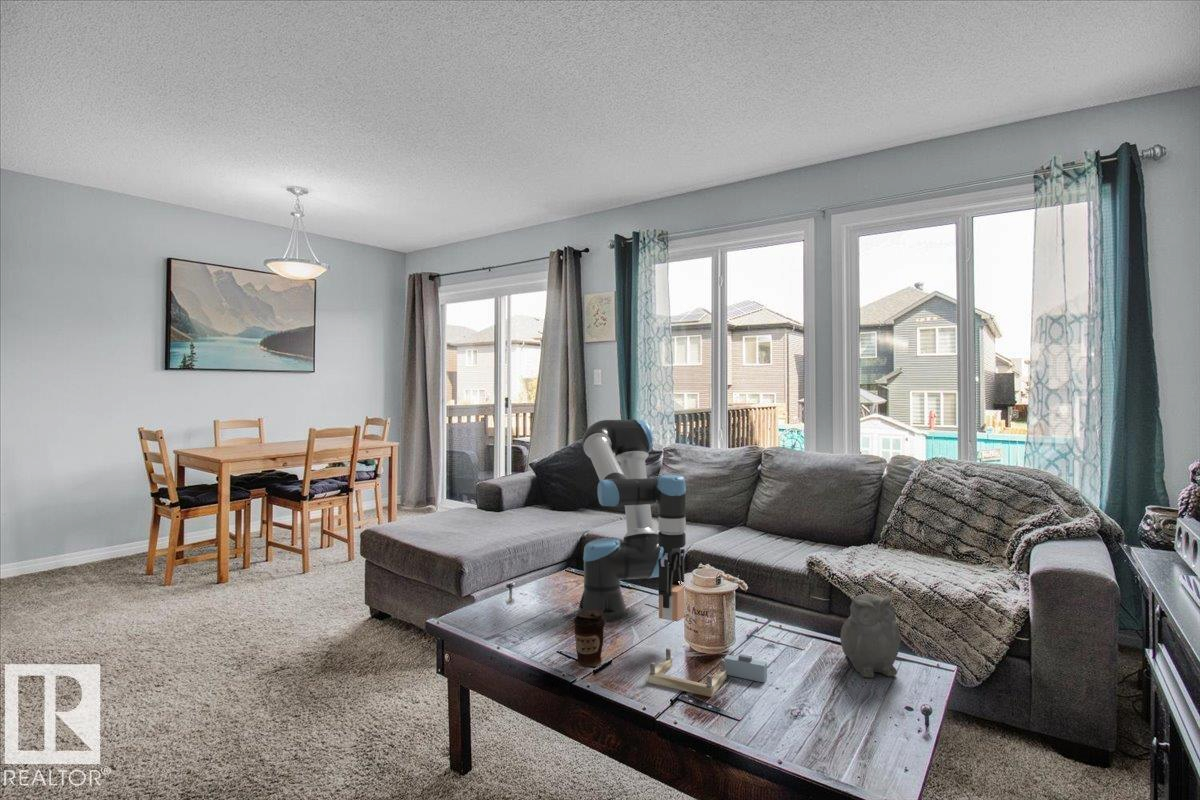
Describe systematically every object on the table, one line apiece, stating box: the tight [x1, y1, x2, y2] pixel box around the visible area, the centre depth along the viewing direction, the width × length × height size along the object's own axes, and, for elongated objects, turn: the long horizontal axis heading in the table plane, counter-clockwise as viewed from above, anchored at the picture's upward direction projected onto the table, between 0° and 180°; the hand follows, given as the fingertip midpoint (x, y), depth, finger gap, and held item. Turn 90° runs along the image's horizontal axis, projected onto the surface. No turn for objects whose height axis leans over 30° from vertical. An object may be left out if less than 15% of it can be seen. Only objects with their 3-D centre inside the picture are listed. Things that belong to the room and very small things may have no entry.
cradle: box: [647, 648, 728, 698], centre depth 149 cm, size 12×16×4 cm
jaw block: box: [658, 585, 686, 622], centre depth 168 cm, size 6×6×8 cm
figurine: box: [839, 592, 902, 678], centre depth 156 cm, size 14×16×20 cm
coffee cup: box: [573, 610, 606, 667], centre depth 160 cm, size 9×8×13 cm
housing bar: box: [723, 654, 768, 683], centre depth 151 cm, size 2×10×5 cm, turn 61°
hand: (671, 615), depth 168 cm, fingers closed on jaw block, 5 cm apart
